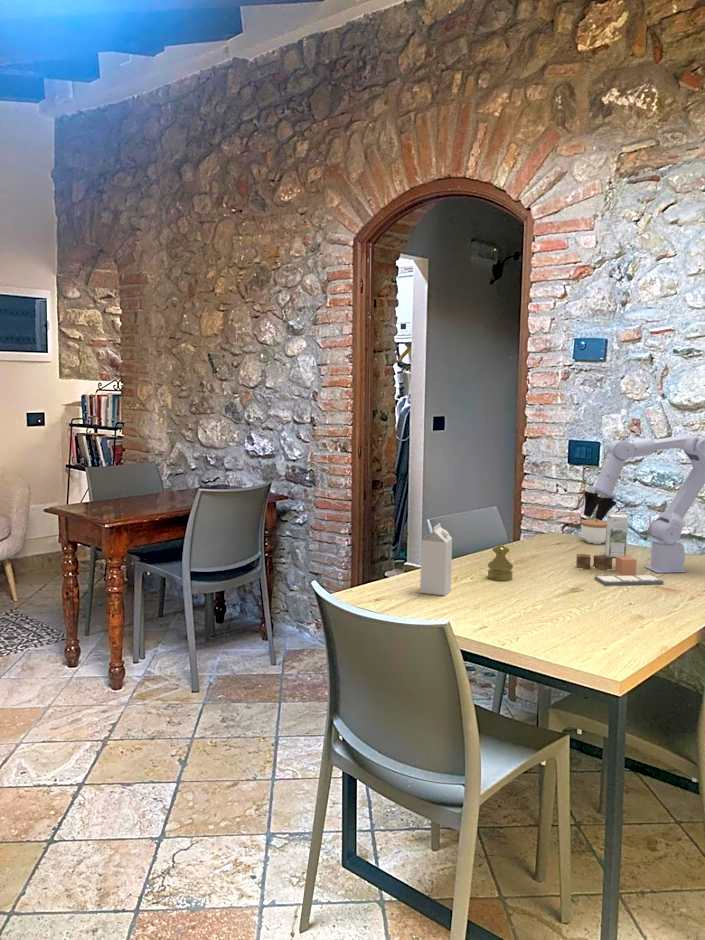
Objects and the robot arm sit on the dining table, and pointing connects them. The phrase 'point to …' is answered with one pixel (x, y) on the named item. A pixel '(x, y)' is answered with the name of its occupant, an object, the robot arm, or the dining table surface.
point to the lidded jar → (594, 531)
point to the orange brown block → (625, 565)
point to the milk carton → (436, 562)
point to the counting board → (629, 580)
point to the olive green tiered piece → (500, 565)
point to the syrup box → (616, 535)
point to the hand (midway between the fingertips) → (592, 517)
